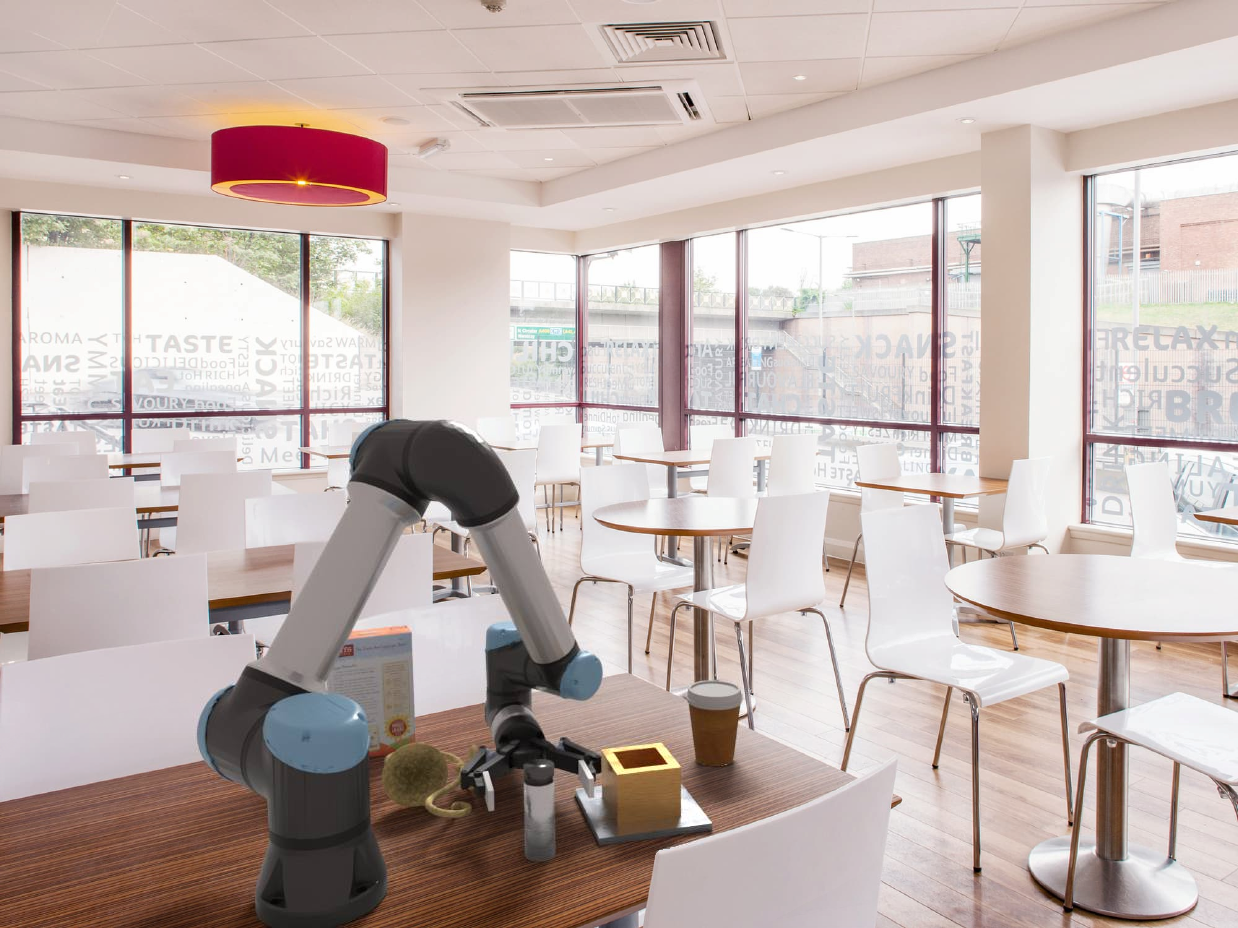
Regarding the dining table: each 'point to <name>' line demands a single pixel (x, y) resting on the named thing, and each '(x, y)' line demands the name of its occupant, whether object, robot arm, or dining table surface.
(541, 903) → the dining table surface
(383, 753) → the cracker box
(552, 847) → the capped glass tube
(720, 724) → the disposable coffee cup
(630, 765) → the yellow open box
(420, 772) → the wall sconce
